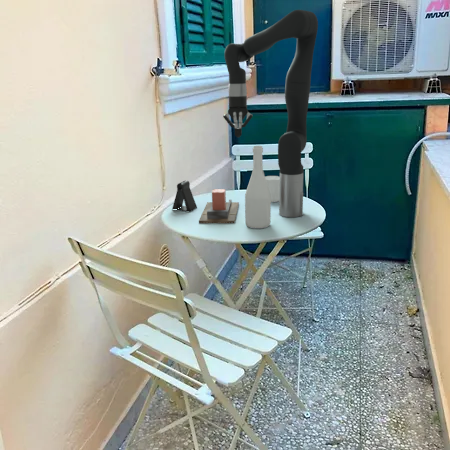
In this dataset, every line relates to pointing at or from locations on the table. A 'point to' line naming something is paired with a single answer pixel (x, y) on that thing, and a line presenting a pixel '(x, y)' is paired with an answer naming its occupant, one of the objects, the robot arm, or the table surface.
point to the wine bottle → (257, 195)
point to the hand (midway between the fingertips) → (238, 137)
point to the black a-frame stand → (184, 197)
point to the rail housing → (220, 213)
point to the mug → (273, 187)
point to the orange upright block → (219, 199)
